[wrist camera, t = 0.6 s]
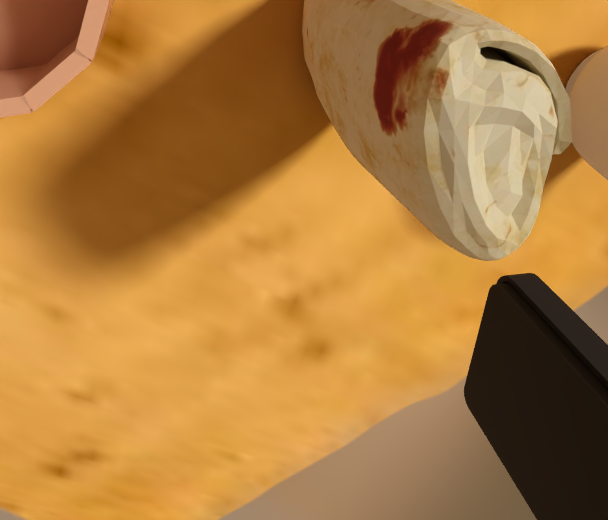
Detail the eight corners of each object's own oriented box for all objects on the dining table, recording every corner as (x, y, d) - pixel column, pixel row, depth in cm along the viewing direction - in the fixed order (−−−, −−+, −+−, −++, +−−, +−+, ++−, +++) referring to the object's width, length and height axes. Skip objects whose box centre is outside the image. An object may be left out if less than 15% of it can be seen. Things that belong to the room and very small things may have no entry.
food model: (263, -18, 32) (377, 64, 15) (371, -64, 32) (604, -32, 15) (315, 134, 37) (442, 316, 21) (408, 96, 37) (608, 246, 21)
